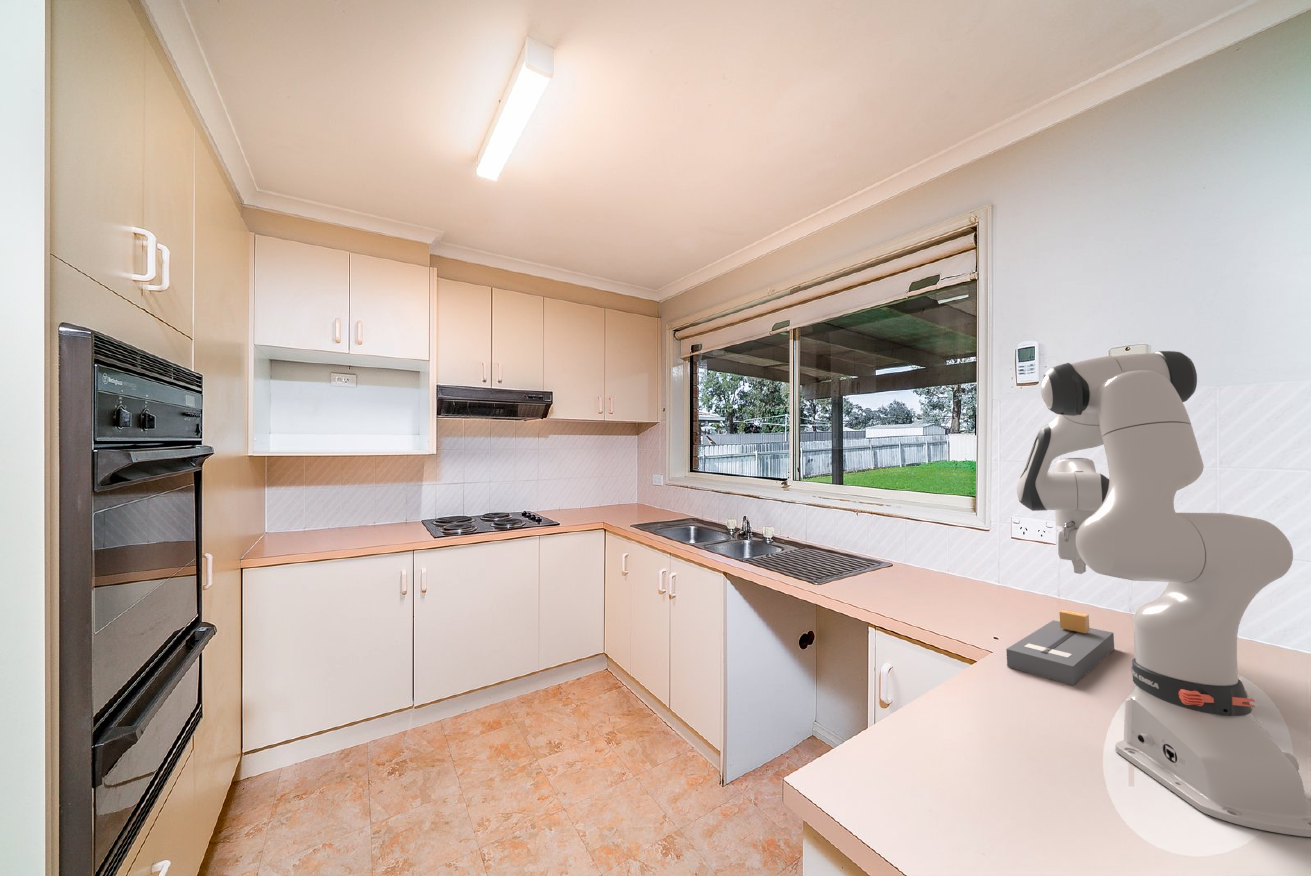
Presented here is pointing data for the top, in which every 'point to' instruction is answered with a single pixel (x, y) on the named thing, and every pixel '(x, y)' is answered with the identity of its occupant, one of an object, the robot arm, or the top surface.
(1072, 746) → the top surface
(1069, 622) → the fader knob
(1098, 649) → the fader console
